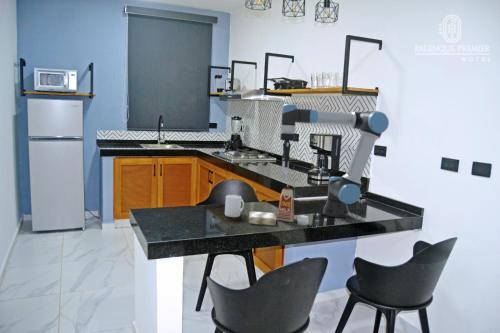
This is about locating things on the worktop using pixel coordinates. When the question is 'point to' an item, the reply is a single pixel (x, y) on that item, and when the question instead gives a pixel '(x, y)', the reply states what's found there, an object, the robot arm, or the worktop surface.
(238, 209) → the mug
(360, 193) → the robot arm
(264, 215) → the podium
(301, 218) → the white block
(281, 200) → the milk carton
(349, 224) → the worktop surface
